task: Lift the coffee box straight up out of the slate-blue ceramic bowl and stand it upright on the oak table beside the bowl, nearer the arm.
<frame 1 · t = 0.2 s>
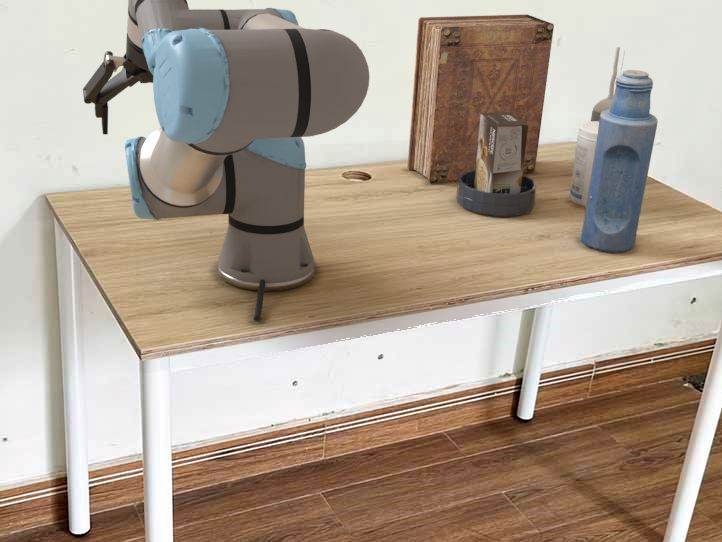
hand: (146, 128, 179), 15 cm above the table, tool tilted 35°, fingers open, 13 cm apart
coffee box: (495, 203, 203), resting on bowl
bowl: (494, 204, 203), on the table
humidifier: (599, 168, 227), on the table
bottle: (607, 244, 188), on the table
supplement tub: (592, 202, 207), on the table
book: (471, 172, 219), on the table
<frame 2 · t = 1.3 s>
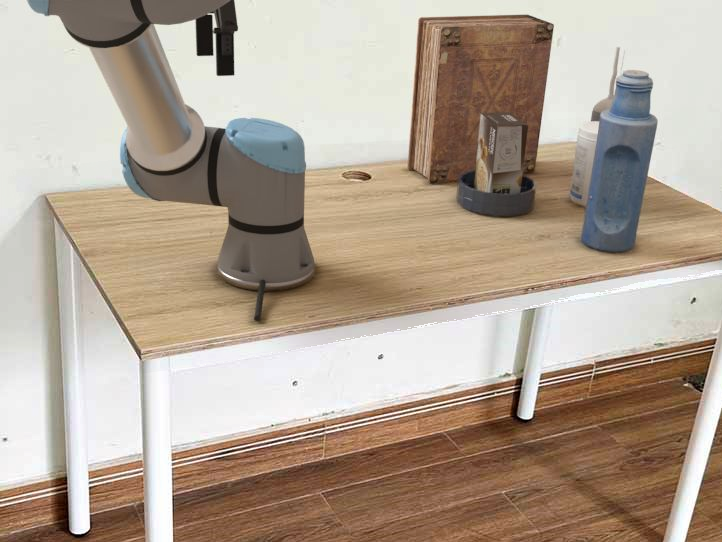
hand: (214, 65, 173), 27 cm above the table, tool pointing down, fingers open, 13 cm apart
nothing on the table moved.
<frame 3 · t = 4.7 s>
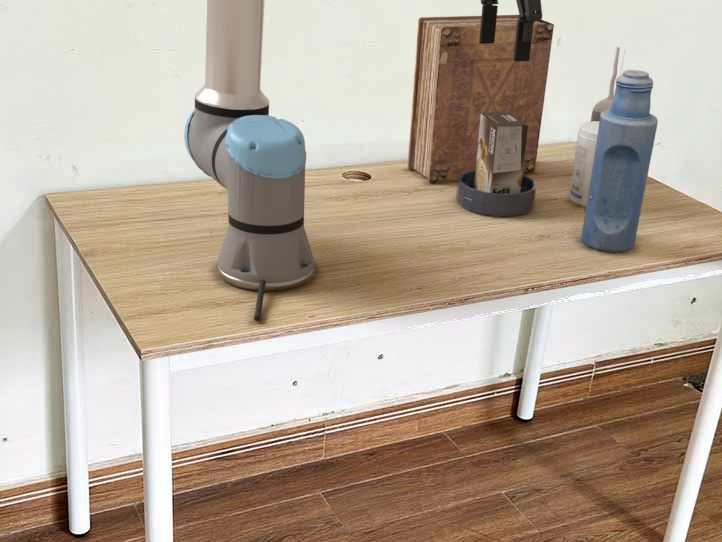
hand: (503, 51, 188), 28 cm above the table, tool pointing down, fingers open, 13 cm apart
nothing on the table moved.
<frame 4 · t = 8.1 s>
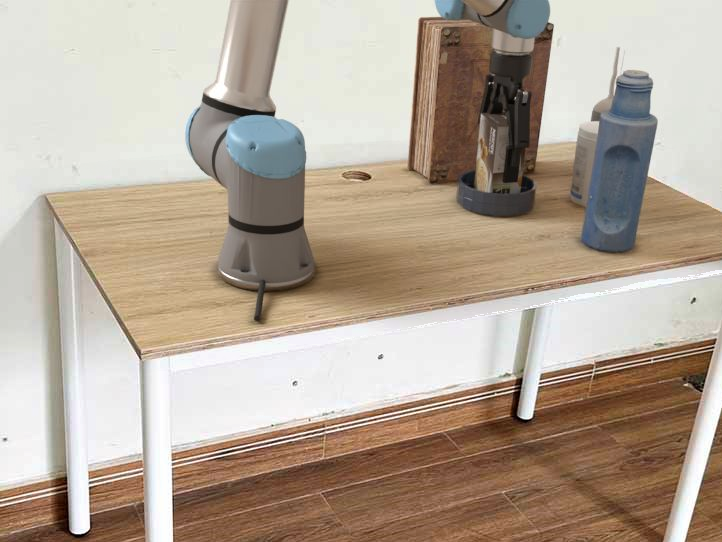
hand: (498, 173, 200), 6 cm above the table, tool pointing down, fingers closed on coffee box, 9 cm apart
coffee box: (495, 202, 203), resting on bowl, touching gripper
everything else where it was.
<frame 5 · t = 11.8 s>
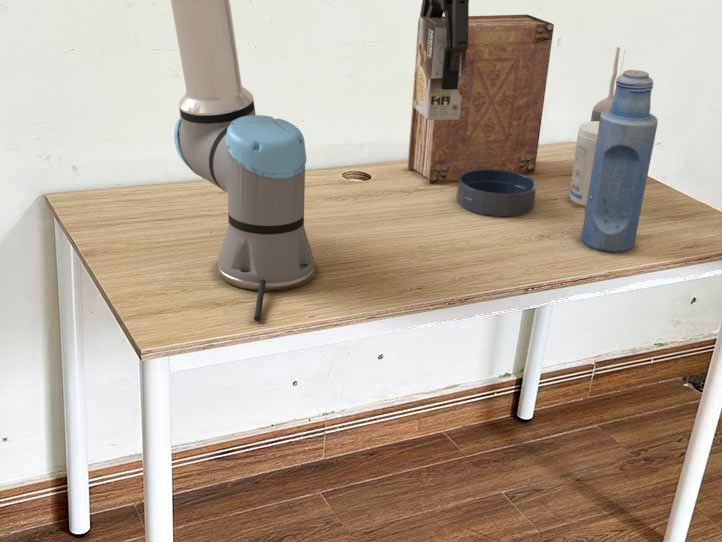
hand: (438, 82, 188), 23 cm above the table, tool pointing down, fingers closed on coffee box, 9 cm apart
coffee box: (435, 114, 191), point 17 cm above the table, touching gripper
everything else where it was.
when the fingers open (6 cm above the table, at t = 15.6 s): coffee box stays where it is, on the table.
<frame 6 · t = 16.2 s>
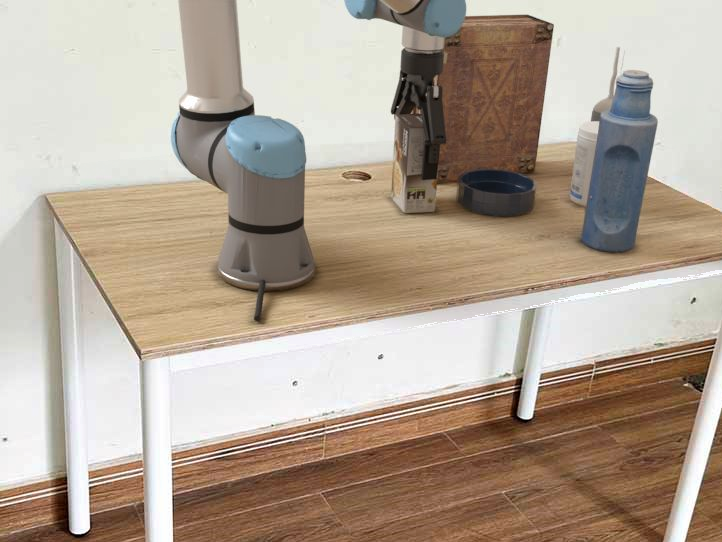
hand: (414, 167, 196), 7 cm above the table, tool pointing down, fingers open, 13 cm apart
coffee box: (412, 205, 200), on the table
everything else where it was.
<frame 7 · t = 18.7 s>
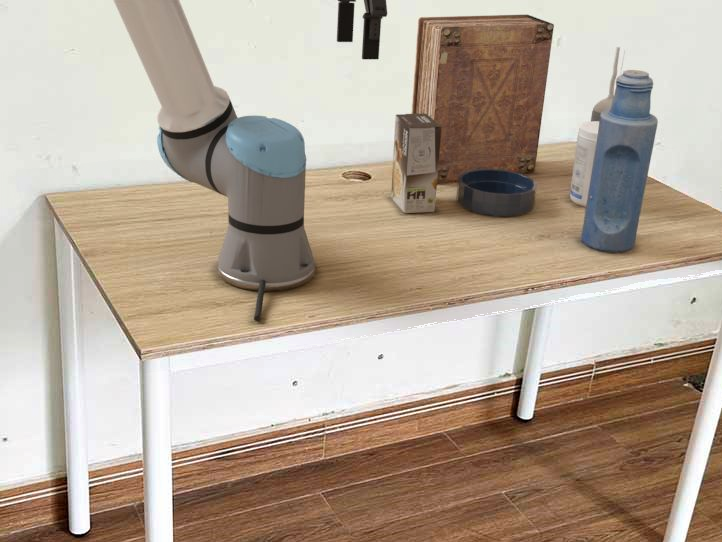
hand: (357, 50, 182), 28 cm above the table, tool pointing down, fingers open, 13 cm apart
nothing on the table moved.
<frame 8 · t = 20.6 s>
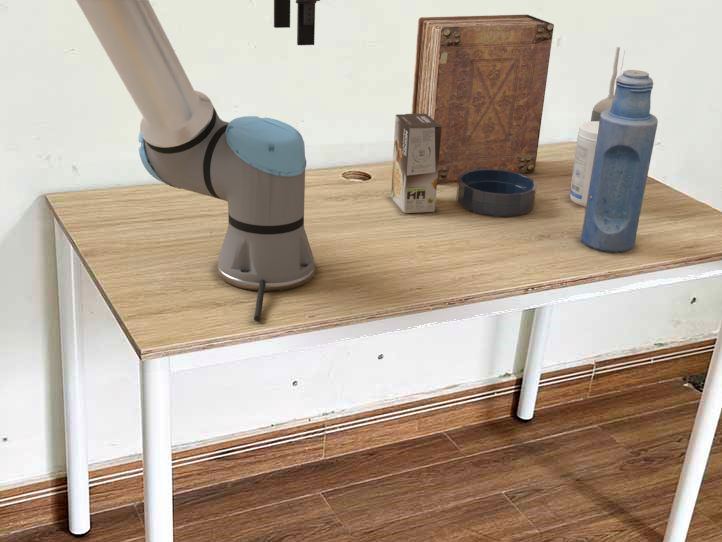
hand: (293, 36, 178), 31 cm above the table, tool pointing down, fingers open, 13 cm apart
nothing on the table moved.
at the end: coffee box inside the target area (0.1 cm from its centre), on the table; coffee box tilted 0°; coffee box touching table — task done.
